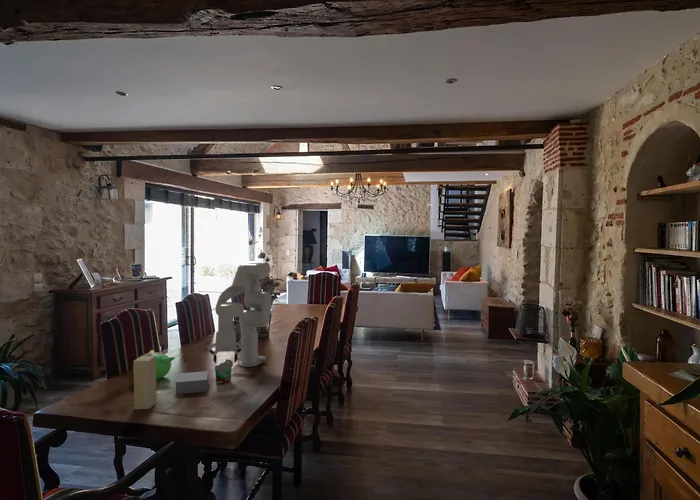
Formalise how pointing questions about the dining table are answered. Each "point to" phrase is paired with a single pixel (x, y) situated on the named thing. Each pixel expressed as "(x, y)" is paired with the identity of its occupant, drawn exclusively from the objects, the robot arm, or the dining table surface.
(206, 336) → the dining table surface
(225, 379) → the food container
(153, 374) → the beige tall block
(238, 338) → the planter
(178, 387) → the grey block
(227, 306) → the robot arm
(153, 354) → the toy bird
